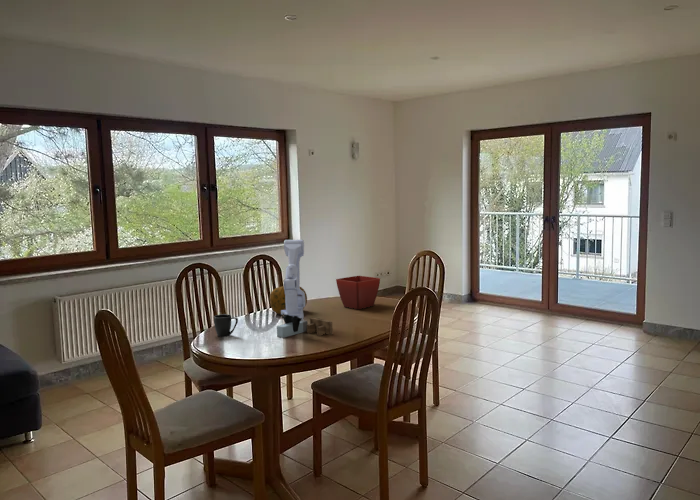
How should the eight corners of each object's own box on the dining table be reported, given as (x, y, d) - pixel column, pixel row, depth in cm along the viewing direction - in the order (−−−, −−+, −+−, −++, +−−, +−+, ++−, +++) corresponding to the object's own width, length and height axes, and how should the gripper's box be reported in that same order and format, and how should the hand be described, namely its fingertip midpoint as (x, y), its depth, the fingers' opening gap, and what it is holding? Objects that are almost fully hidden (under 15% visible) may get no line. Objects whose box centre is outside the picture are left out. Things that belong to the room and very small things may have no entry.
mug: (233, 338, 256) (232, 318, 255) (211, 337, 260) (210, 317, 259) (242, 333, 264) (241, 314, 263) (220, 332, 268) (219, 313, 267)
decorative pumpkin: (311, 313, 301) (306, 278, 299) (273, 319, 296) (268, 283, 294) (305, 307, 320) (301, 274, 319) (270, 313, 315) (265, 279, 314)
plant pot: (359, 302, 333) (358, 275, 332) (381, 306, 319) (381, 278, 318) (335, 307, 320) (335, 279, 319) (358, 311, 306) (357, 282, 305)
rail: (282, 337, 255) (282, 327, 254) (277, 336, 258) (276, 326, 257) (307, 330, 266) (307, 320, 266) (302, 329, 269) (302, 319, 269)
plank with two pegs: (303, 332, 264) (302, 320, 264) (312, 329, 269) (312, 317, 268) (323, 336, 255) (322, 324, 254) (332, 334, 259) (332, 321, 259)
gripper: (275, 302, 262) (276, 330, 264) (295, 306, 253) (296, 334, 254) (286, 300, 268) (287, 327, 269) (306, 303, 258) (307, 331, 259)
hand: (292, 330), depth 262 cm, fingers closed on rail, 4 cm apart
